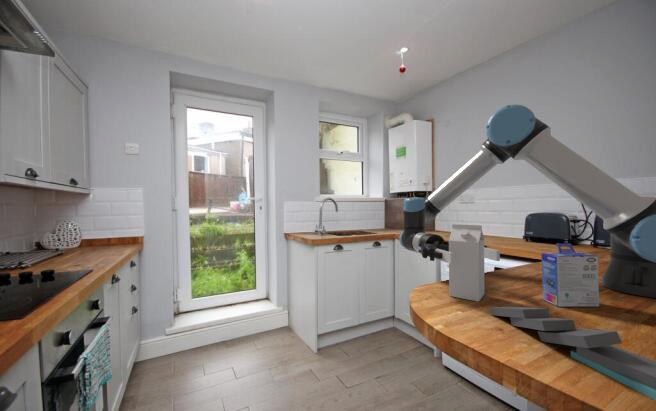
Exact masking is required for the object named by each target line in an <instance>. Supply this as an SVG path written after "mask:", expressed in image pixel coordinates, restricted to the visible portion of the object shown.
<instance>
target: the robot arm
mask: <svg viewBox="0 0 656 411" xmlns="http://www.w3.org/2000/svg"><path fill="white" fill-rule="evenodd" d="M551 129H552V128H551V127H550V126H549V125H548V124H547V123H545V122H543V121H541V119H539V118H537V117H536V115H535V113H534V112H533V111H532V109H530V108H528V107H527V106H525V105H523V104H516V103H515V104H508V105H505V106H502V107H501V108H499V109H497V110H496V111H495V112H493V113H492V115H490V116H489V118H488V121H487V122H486V128H485V133H486V136H487V139H485V141H483V143H482V144H481V145H480V150H478V151H477V152H476V153H475V154H474V155H473V156H472V157H471V158H469V159H468V160H467V161H466V162H464V164H463V165H461V166H460V168H459V169H457V170H456V171H455V172H454V173H453V174H451V175H450V176H449V177H448V178H447V179H446V180H445V181H444V182H443V183H441V185H439V187H437V188H436V189H434V191H433V192H431V194H429V195H428V196H427V197H426V198H425V199H424V198H422V197H412V198H411V197H410V198H408V197H406V198H405V199H404V200H403V206H402V209H403V231H401V232H400V234H399V237H398V240H399V244H400V245H401V247H403V248H404V249H406V250H408V251H410V252H415V253H418V254H421V256H422V258H423V259H428V257H429V261H431V262H434V261H435V260H439V261H440V262H441V261H442V262H445V263H448V264H449V263H450V264H453V253H452V252H449V240H445V239H444V237H442V236H441V235H440V234H435V233H431V232H426V223H429V222H432V221H433V220H435V219H436V217H437V216H438V215H439V214H440V213H441V212H442V211H443V210H444V209H446V208H447V207H448V206H449V205H450V204H451V203H453V202H454V201H455V200H456V199H457V198H458V197H460V196H461V195H462V194H463V193H465V192H466V191H467V190H468V189H469V188H471V187H472V186H473V185H474V184H475V183H476V182H478V181H479V180H480V179H481V178H482V177H484V176H485V175H486V174H488V173H489V172H490V171H491V170H492V169H493V168H495V167H496V166H497V165H501V164H504V163H505V162H506V161H508V160H509V159H510V158H511V159H513V160H514V161H520V160H521V161H522V160H523V161H525V162H526V163H527V164H529V166H532V168H534V169H535V170H537V171H538V172H540V173H541V174H542V175H543V176H545V177H546V178H548V180H550V181H551V182H553V183H554V184H555V185H557V186H558V187H559V188H561V189H562V190H563V191H565V192H566V193H567V194H568V195H570V196H571V197H573V198H574V199H575V200H577V201H578V202H579V203H581V204H582V205H583V206H584V207H585V208H587V209H589V211H591V212H592V213H594V214H595V215H597V216H598V217H599V218H600V219H601V220H602V222H603V223H602V224H603V226H602V227H603V229H604V230H605V231H606V232H608V233H609V234H610V236H609V237H610V247H609V248H610V250H609V251H610V260H609V261H608V264H607V266H606V268H605V271H604V273H603V275H602V277H601V285H602V286H603V287H605V288H607V289H610V290H613V291H617V292H620V293H623V294H624V293H625V294H628V295H632V296H633V295H634V296H638V297H639V296H640V297H646V298H653V299H656V197H655V196H643V195H638V194H637V193H635V192H634V191H633V190H631V189H630V188H628V187H627V186H625V185H624V184H622V183H621V182H620V181H618V180H616V179H615V178H614V177H612V176H611V175H609V174H608V173H607V172H605V171H603V170H602V169H601V168H599V167H597V166H596V165H594V164H593V163H592V162H590V161H589V160H587V159H586V158H584V157H583V156H582V155H580V154H578V153H577V152H575V151H574V150H572V149H571V148H569V147H568V146H567V145H565V144H564V143H562V142H561V141H559V140H558V139H556V138H555V137H554V136H552V133H551V131H552V130H551ZM500 256H501V251H500V250H498V249H494V248H489V247H488V246H487V245H484V259H488V260H492V261H496V262H500V261H501V260H500V259H501V258H500Z"/></svg>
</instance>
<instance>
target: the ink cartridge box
mask: <svg viewBox="0 0 656 411" xmlns="http://www.w3.org/2000/svg"><path fill="white" fill-rule="evenodd" d="M555 245H556V247H557V250H558V252H541V253H540V255H541V271H542V274H541V275H542V300H543V301H545V302H547V303H549V304H551V305H553V306H555V307H559V308H560V307H562V308H563V307H564V308H565V307H566V308H567V307H599V306H600V295H599V294H600V291H599V290H600V289H599V284H600V283H599V256H598V255H597V254H592V253H591V254H590V253H587V252H586V253H585V252H582V251H581V252H580V251H579V252H577V251H575V249H574V247H573V244H571V243H569V242H568V243H565V242H564V243H559V242H558V243H557V242H556V243H555ZM562 247H567V248H562Z"/></svg>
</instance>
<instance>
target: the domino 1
mask: <svg viewBox="0 0 656 411" xmlns="http://www.w3.org/2000/svg"><path fill="white" fill-rule="evenodd" d="M489 310H490V315H491V316H497V317H505V318H506V317H507V318H510V317H514V318H524V319H528V318H551V315H550V311H549V308H544V307H543V308H541V307H527V306H492V307H491V306H490V307H489Z"/></svg>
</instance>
